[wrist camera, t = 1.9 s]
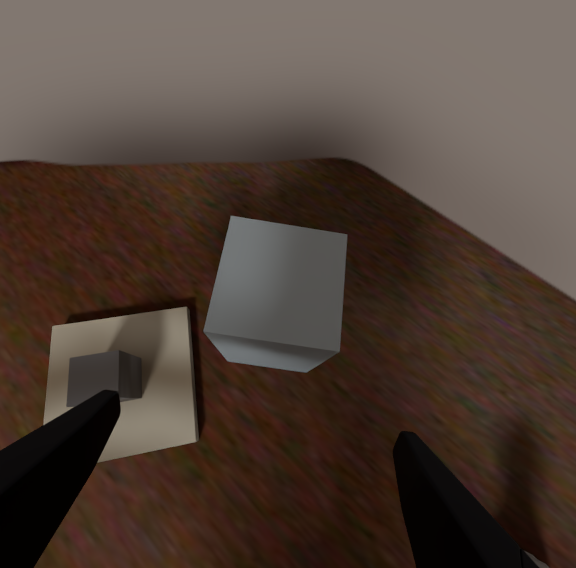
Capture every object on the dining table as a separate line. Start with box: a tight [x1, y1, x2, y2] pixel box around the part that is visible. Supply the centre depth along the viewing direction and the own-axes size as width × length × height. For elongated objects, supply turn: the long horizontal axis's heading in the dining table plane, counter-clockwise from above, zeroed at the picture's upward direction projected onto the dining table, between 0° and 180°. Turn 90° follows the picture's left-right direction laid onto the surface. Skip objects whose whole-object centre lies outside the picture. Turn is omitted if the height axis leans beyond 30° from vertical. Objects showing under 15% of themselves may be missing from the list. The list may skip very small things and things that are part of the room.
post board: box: [44, 307, 199, 463], centre depth 19 cm, size 9×9×4 cm
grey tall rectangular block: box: [203, 216, 347, 373], centre depth 18 cm, size 6×6×10 cm
